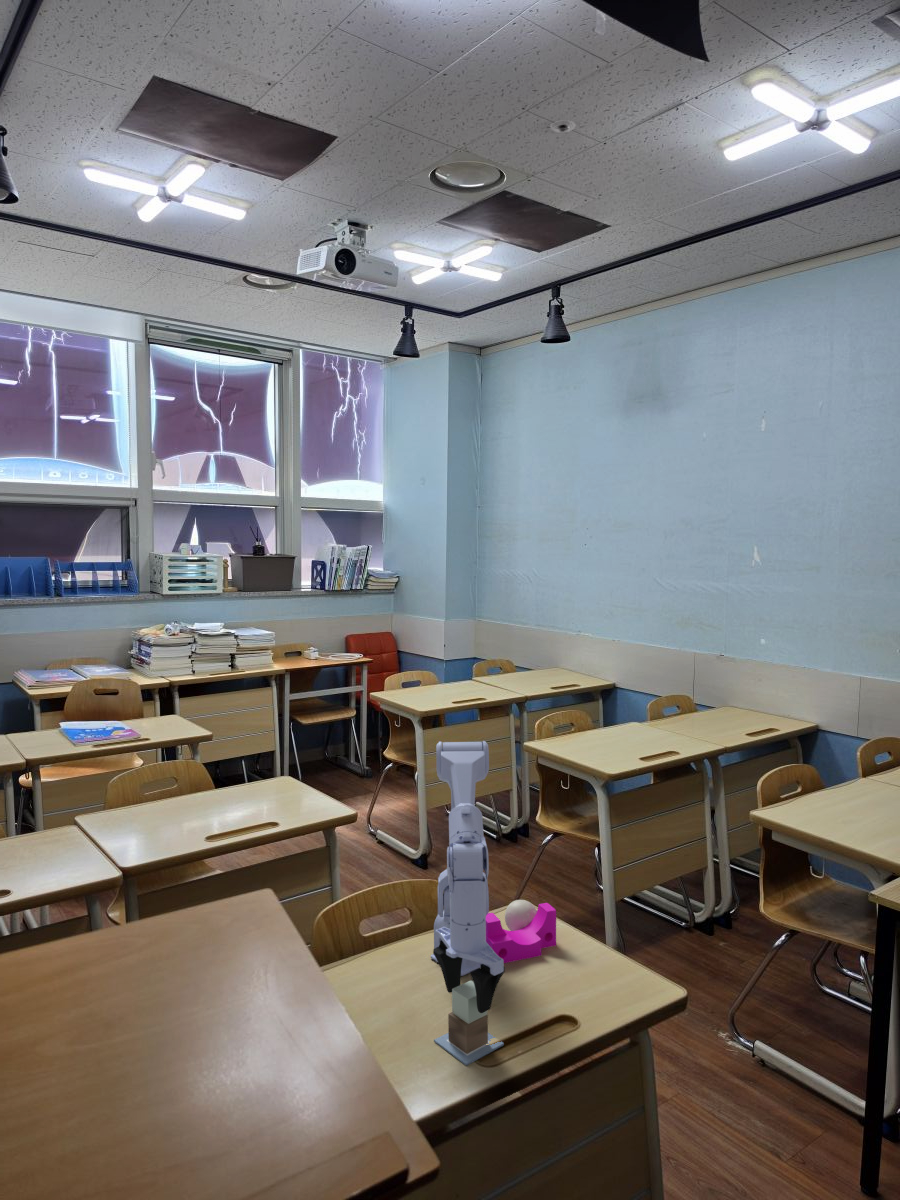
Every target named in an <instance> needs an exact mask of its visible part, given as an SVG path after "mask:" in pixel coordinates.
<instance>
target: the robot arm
mask: <svg viewBox="0 0 900 1200" xmlns="http://www.w3.org/2000/svg"><path fill="white" fill-rule="evenodd" d="M435 748H436V749H435V750H436V753H435V754H436V758H435V759H436V765H435V766H436V776H437V777H438V780H439V781H441V782H445V783H447V786H448V787H449V789H450V793H451V794H450V798H451V799H450V803H451V804H450V807H451V810H450V811H449V814H448V836H449V837H448V841H449V842H448V845H449V846H447V848H446V866H447V867H446V869H445V870H443V871H442V872H441V873H440V874H439V876H438V877H437V880H438V882H437V883H438V884H437V915H436V918H435V920H434V923H433V950H432V953H433V954H431V955H430V958H431V960H433V961H435V962H437V963H438V964H439V965H438V966H439V967H440V970H441V972H442V977H443V979H444V983H445V988H446V991H447V993H449V994H450V993H451V994H452V989H453V988H455V987H457V986H459V985H461V980H462V978H461V977H464V976H466V975H468V974H469V975H470V977H471V979H472V981H473V982H474V985H475V990H476V999H477V1008H478V1012H480V1013H483V1012H485V1011H487V1012H488V1011H489V1010H490V1009H491V1008H492V1003H493V999H494V995H495V993H496V990H497V987H498V985H499V982H500V981H501V979H502V977H503V975H504V974H505V972H506V971H505V970H506V968H505V965H504V964H505V963H504V960H503V959H502V958H500V957H499V956H498V955H497V954H496V953H495V952H494V951H493V949H492V948H491V947H490V946H489V945H488V943H487V942H486V915H487V914H488V913H490V911H489V910H490V900H489V899H490V897H489V886H488V882H489V881H488V878H489V871H490V870H489V869H490V868H489V867H490V863H489V861H490V860H489V848H488V845H487V841H486V837H485V836H484V823H483V822H484V821H483V813H482V811H481V810H480V809H479V808H478V807H477V806H475V805H476V787H477V786H476V785H477V783H478V782H481V781H483V780H486V777H487V775H488V773H489V771H490V752H489V751H490V750H489V744H488V743H487V742H486V740H482V741H444V742H443V741H440V740H439V741H438V743H437V744H436V747H435Z"/></svg>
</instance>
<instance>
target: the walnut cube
mask: <svg viewBox="0 0 900 1200" xmlns="http://www.w3.org/2000/svg"><path fill="white" fill-rule="evenodd" d="M447 1016H448V1019H447V1020H448V1029H447V1031H448V1033H449V1041H450V1042H451V1043H452V1044H454V1045H455V1046H456V1047H458V1048H459V1049H461V1050H462V1051H463V1052H465V1053H466V1054H468V1053H470V1052H471V1051H473V1050H475V1049H477V1048H479V1047H481V1046H483V1045H484V1044H486V1043H488V1033H489V1030H488V1029H489V1026H488V1025H489V1019H488V1017H489V1015H488V1014H487V1015H485V1016H483V1017H481V1018H479V1019H477V1020H475V1021H473V1022H471V1023H469V1024H468V1023H466V1022H465V1021H463V1020H462V1019H460V1018H459V1017H458V1016H456V1015H455V1014H453V1013H452V1011H451V1012H449V1013H448V1015H447Z"/></svg>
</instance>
